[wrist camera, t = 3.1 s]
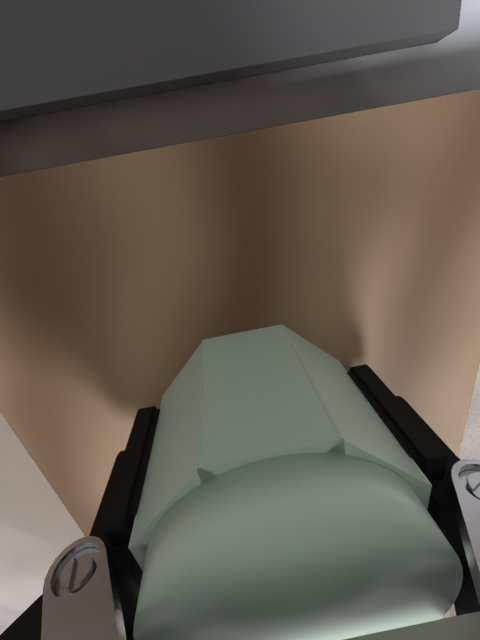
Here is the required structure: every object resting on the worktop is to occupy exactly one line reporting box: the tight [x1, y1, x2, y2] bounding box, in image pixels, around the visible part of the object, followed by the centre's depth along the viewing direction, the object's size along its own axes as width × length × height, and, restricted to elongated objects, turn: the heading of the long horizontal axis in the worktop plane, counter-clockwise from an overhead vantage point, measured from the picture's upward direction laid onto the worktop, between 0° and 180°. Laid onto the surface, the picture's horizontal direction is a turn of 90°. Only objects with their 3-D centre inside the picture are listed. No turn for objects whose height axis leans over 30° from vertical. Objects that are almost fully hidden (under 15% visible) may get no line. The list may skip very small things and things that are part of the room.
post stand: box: [0, 89, 480, 537], centre depth 10 cm, size 18×18×6 cm
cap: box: [128, 324, 463, 640], centre depth 8 cm, size 7×7×6 cm
